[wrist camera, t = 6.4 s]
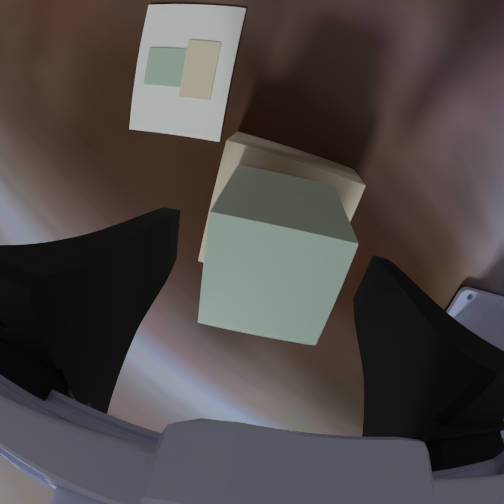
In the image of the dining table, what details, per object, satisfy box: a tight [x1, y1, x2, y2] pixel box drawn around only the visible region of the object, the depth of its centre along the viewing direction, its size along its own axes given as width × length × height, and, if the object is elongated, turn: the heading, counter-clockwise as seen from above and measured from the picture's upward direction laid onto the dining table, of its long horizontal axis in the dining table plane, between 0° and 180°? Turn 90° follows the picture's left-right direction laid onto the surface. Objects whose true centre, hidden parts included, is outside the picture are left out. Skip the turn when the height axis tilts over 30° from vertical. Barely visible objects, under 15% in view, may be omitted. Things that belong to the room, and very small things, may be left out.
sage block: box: [198, 165, 359, 345], centre depth 11 cm, size 4×4×5 cm
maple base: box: [198, 131, 366, 263], centre depth 15 cm, size 6×6×3 cm
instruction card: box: [129, 4, 246, 142], centre depth 13 cm, size 5×7×1 cm
